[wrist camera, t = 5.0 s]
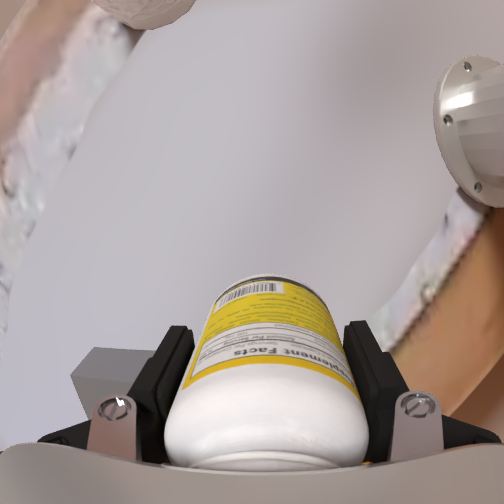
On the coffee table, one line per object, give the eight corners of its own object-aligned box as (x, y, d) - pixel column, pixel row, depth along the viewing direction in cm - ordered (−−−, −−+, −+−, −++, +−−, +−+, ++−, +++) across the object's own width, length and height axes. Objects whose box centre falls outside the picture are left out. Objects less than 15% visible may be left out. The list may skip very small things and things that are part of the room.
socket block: (308, 347, 24) (317, 382, 19) (301, 469, 28) (305, 502, 23) (93, 347, 24) (70, 375, 20) (138, 463, 28) (127, 492, 24)
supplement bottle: (289, 392, 15) (291, 581, 5) (188, 344, 14) (106, 531, 5) (356, 308, 13) (445, 506, 4) (246, 245, 13) (180, 443, 3)
